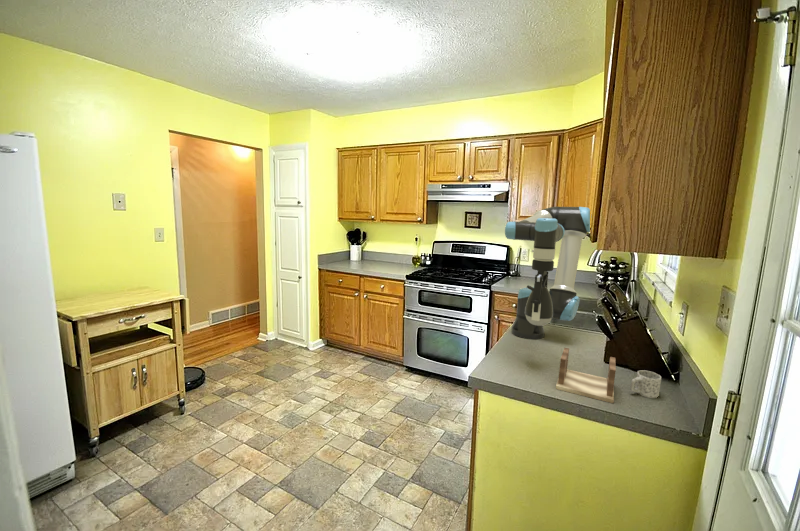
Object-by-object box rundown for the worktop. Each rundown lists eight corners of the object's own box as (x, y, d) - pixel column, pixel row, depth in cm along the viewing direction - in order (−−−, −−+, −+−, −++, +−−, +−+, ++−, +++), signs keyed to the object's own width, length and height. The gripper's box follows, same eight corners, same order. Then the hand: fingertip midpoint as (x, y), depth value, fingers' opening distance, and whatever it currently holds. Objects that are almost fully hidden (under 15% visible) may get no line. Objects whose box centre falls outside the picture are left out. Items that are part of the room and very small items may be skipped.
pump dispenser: (528, 317, 144) (531, 281, 142) (555, 323, 138) (559, 285, 135) (519, 323, 137) (522, 285, 134) (547, 329, 130) (550, 289, 128)
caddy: (561, 371, 135) (564, 345, 134) (613, 383, 127) (616, 355, 125) (555, 388, 122) (558, 360, 120) (613, 403, 113) (617, 373, 112)
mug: (646, 387, 124) (648, 369, 123) (663, 397, 118) (666, 378, 117) (621, 389, 122) (624, 371, 121) (638, 400, 116) (641, 380, 115)
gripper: (538, 255, 145) (533, 308, 148) (526, 262, 126) (521, 322, 129) (558, 257, 141) (553, 311, 144) (549, 264, 122) (543, 326, 125)
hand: (538, 316), depth 137 cm, fingers closed on pump dispenser, 10 cm apart
